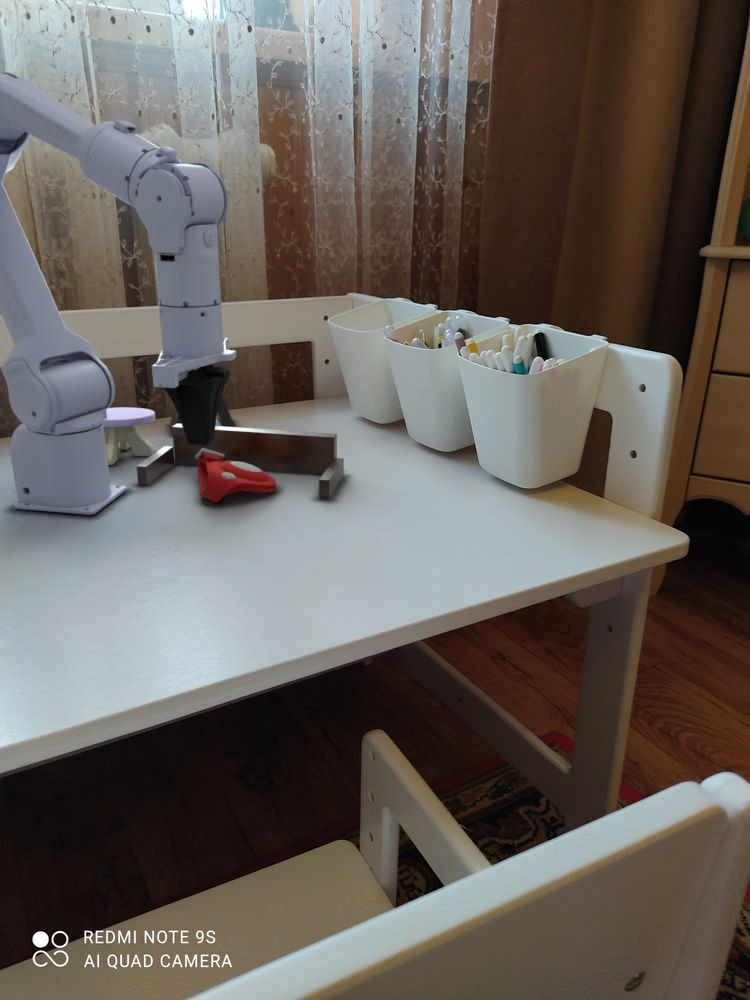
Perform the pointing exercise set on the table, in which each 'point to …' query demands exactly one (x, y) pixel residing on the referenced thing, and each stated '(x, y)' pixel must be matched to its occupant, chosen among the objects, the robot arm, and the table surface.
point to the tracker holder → (229, 476)
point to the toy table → (126, 431)
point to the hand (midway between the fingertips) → (200, 442)
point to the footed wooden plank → (256, 453)
